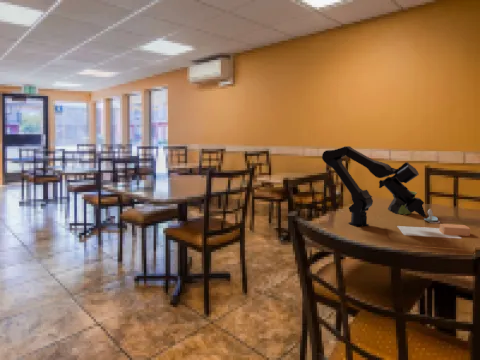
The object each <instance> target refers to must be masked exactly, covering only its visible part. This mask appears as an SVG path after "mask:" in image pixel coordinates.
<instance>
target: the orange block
mask: <svg viewBox="0 0 480 360" xmlns="http://www.w3.org/2000/svg"><path fill="white" fill-rule="evenodd" d="M439 228H440V229H439V231H440V232H441V233H443V234H444V235H458V236H460V237H461V236H463V237H465V236H466V237H471V236H470V235H471V234H470V233H471V228H470V227H469V226H467V225H465V224H451V223H439Z"/></svg>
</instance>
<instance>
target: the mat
mask: <svg viewBox="0 0 480 360" xmlns="http://www.w3.org/2000/svg"><path fill="white" fill-rule="evenodd" d="M396 227H397V228H398V229H399V231H400V232H401V233H402V235H403V236H412V237H413V236H415V237H428V238H429V237H430V238H447V239H448V238H449V239H463V238H462V237H461V236H460V235H444V234H443V233H441V232H440V231H439V229H440V227H424V226H423V227H421V226H405V225H403V226H402V225H401V226H400V225H396Z"/></svg>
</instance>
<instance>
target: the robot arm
mask: <svg viewBox="0 0 480 360" xmlns="http://www.w3.org/2000/svg"><path fill="white" fill-rule="evenodd" d="M344 157H347V158H349V159H351V160H353V161H354V162H355V163H358V164H360V165H361V166H363V167H364V168H366V169H367V170H368V172H370V174H371V175H373V176H375V178H378V179H380V180H379V181H378V184H379V186H378V188H379V189H382V188H383V187H385V188H386V189H387V191H389V192H390V193H391V194H392V197H393V196H394V197H395V198H394V197H393V199H392V201H391V202H390V204H389V206H388V207H387V210H388V211H389V212H391V213H392V214H394V215H397V214H399V213H398V211H399V209H400V207H401V206H402V205H403V206H404V205H406V206H405V208H406V209H407V210H408V211H409V212H411V214H413V213H414V212H415V213H416V214H418V215H419V216H421V217H422V218H425V217H426V215H427V214H426V212H425V209H424V206H423V205H424V204H425V202H424V201H423V200H422V199H421V198H420V197H416V195H414V194H412V193H411V192H410V191H411V190H409V188H408V187H407V186H406V185H404V184H403V183H405V184H407V183H409V182H411V181H412V180H414V179H415V178H417V177H418V176H419V174H420V173H419V172H418V170H417V168H416V167H415V166H413V165H412V164H410V163H409V162H407V161H406V162H404V163H403V164H402V165H401V166H399V167H398V168H395V167H392V166H391V165H390V164H388V163H385V162H382V161H379V160H374V159H372V158H370V157H369V156H367V155H365V154H364V153H362V152H360V151H358V150H356V149H354V148H352V146H348V145H347V146H346V145H345V146H342V147H339V148H335V149H329V150H328V149H327V150H324V151H323V153H322V154H321V159H322V161H323V162H324V163H325V164H326V165H327V166H328V167H330V168H331V169H332V170H334V172H335V173H336V175H337V176H338V178H339V179H340V181H341V182H342V183H343V185H344V187H346V189H347V191H348V192H349V193H350V196H351V197H350V198H351V201H352V204H351V205H349V207H348V210H349V213H351V214H350V215H351V218H350V222H348V224H349V225H352V226H354V227H366V226H370V224H369V223H367V221H368V220H367V219H368V218H367V217H368V216H367V215H368V214H367V213H368V211H369V209H370V208H371V207H372V206H373V203H374V201H373V200H374V199H373V196H372V195H371V194H370V193H369V190H368V189H364V190H363V189H362V188H360V187H359V185H358V183H357V182H356V181H355V179H354V178H353V177H352V175H351V173H350V172H349V171H348V170H347V168H346V167H345V165H344V164H343V160H342V158H344ZM392 175H393V176H392ZM383 178H384V179H383ZM413 197H415V198H413Z"/></svg>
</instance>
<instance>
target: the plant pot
mask: <svg viewBox="0 0 480 360" xmlns="http://www.w3.org/2000/svg"><path fill="white" fill-rule="evenodd" d="M409 191H410V192H411V193H412V194H414V195H415V197H413V198H416V195H417V194H418V192H417V191H411V190H409ZM392 197H393V199H394V198H395V197H394V196H393V195H392ZM405 206H406V205H404V206H403V205H402V206H401V207H400V209H399V211H398V213H397V214H399V215H411V214H412V213H411V212H409V211H408V210H407V209H406V208H405Z"/></svg>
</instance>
